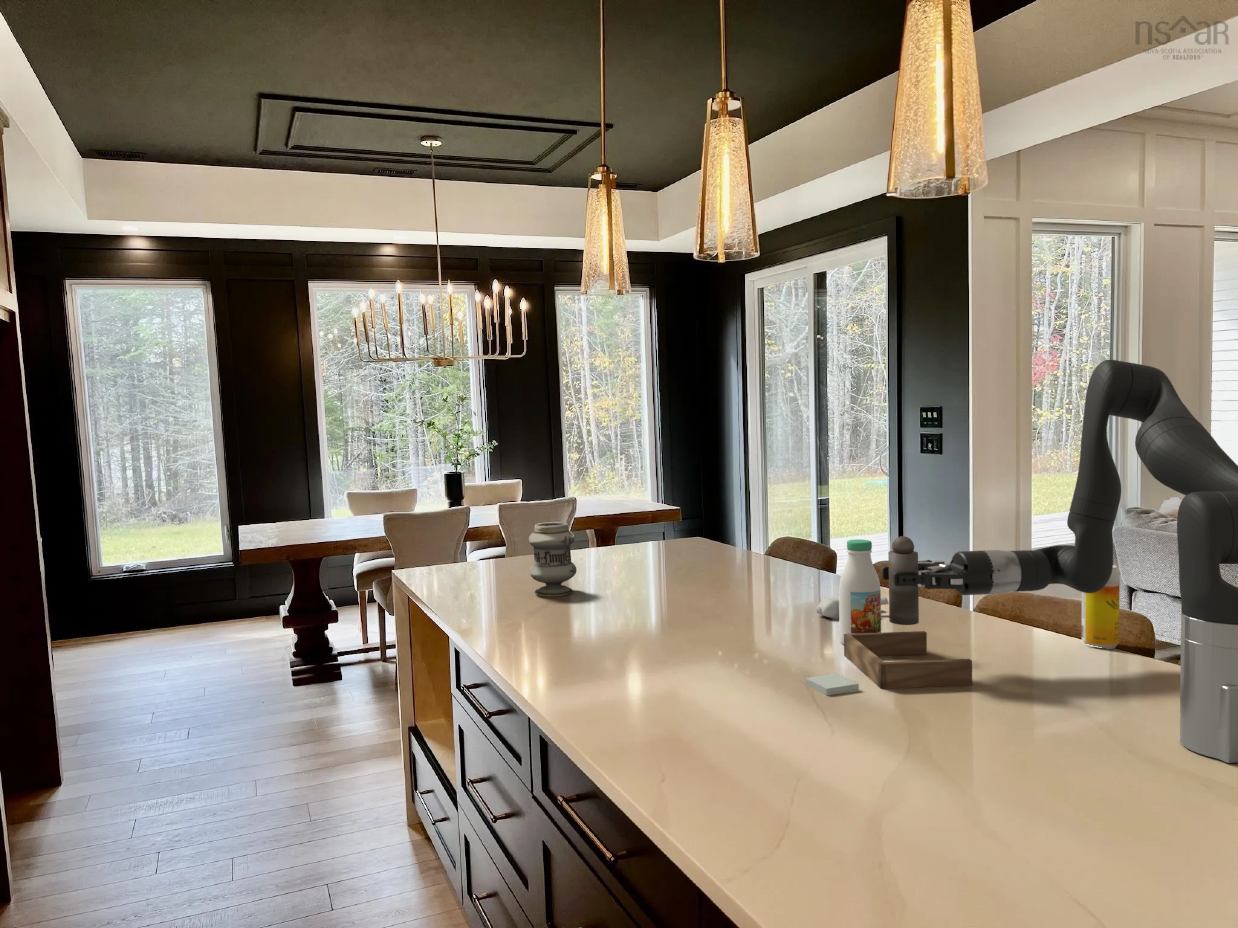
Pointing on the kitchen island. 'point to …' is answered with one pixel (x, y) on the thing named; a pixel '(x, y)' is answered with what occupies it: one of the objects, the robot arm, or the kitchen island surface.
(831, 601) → the bunny figurine
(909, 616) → the pepper mill
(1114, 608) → the beer can
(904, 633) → the box
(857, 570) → the milk bottle
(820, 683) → the ceramic tile
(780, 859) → the kitchen island surface
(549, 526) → the apothecary jar
